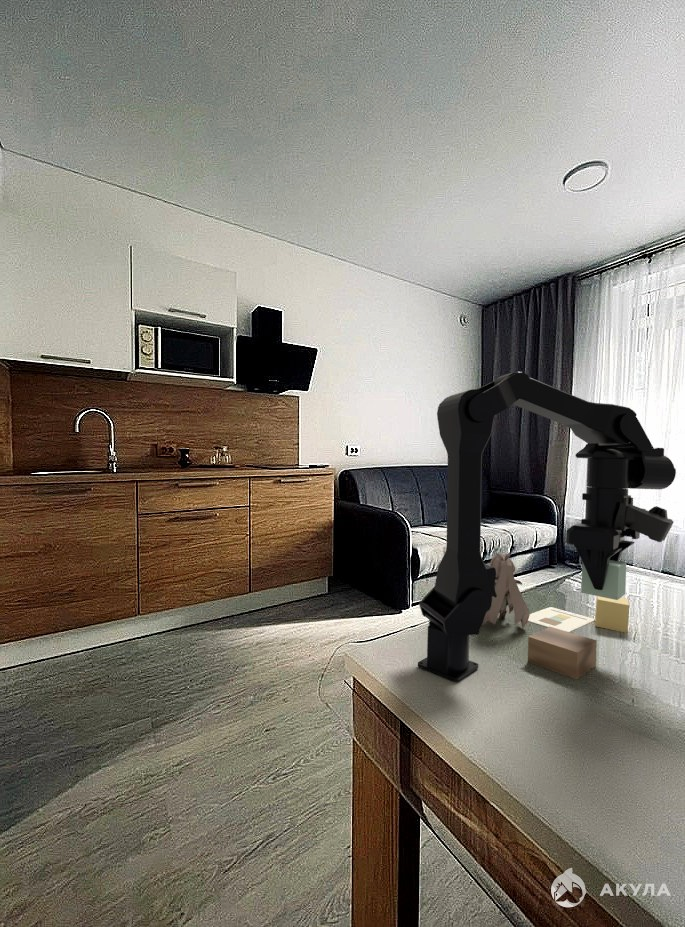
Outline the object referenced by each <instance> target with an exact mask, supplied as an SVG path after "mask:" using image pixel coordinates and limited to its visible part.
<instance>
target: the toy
mask: <svg viewBox="0 0 685 927" xmlns="http://www.w3.org/2000/svg"><path fill="white" fill-rule="evenodd" d="M510 557H511V552H508V553H507V554H505V553H502V552H500V553H497V552H496V553H495V554H494V555H493V557H492V559H491V560H490V564H489V566H492V567H494V568H495V569H496V578H495V592H496V595H497V597H496V598H495V597H493V596H492V598H493V600H492V606H491V609H490V611H487V612H486V615H485V617H484V620H483V623H482V626H481V627H483V626H485V625H486V623H487V622H488V621H489V622H491V623H492V624H493V625H496V622H497V619H498V618H499V619H506V615H507V613H509V614H511V613H512V611H513V612H514V626H516V625H517V624H518V623H519V622H521V628H522V629H524V627H525V626H526V625H527V623H528V619H529V616H530V615H529V614H530V610H529V608H528V606H527V603H526V601H525V599H524V597H523V596H522V593H521V590H520V589H519V587H518V585H520V586H522V585H523V583H522V581H520V580H518V579H515V576H514V573H515V572H516V567H515V565H514V563H513V561H512V560H511V558H510ZM507 607H508V612H507Z"/></svg>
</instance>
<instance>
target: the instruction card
mask: <svg viewBox="0 0 685 927" xmlns="http://www.w3.org/2000/svg"><path fill="white" fill-rule="evenodd" d="M529 615H530V616H529V619H528V621H527V623H532V624H536V625H539V626H542V627H545V628H547V627H549V626H550V627H553V628H556V629H560V630H563V631H567V632H570V633H572V632H573V631H575V630H577V629H580V628H582V627H584V626H587V625H588V624H591V623H593V622H595V618H593V617H588V616H585V615H582V614H577V613H574V612H571V611H566V610H563V609H559V608H556V607H552V606H550V607H546V608H543V609H541V610H537V611H535V612H533V613H529Z"/></svg>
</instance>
